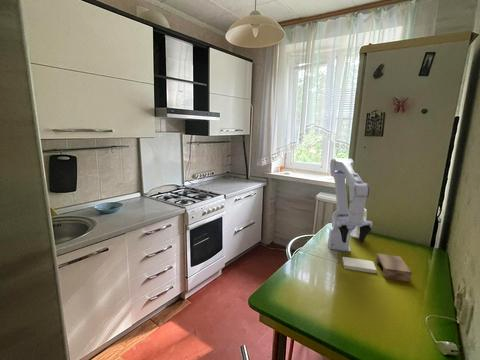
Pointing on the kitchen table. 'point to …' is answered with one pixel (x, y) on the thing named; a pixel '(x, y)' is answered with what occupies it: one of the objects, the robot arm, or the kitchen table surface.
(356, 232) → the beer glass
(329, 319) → the kitchen table surface
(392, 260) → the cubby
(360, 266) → the tile
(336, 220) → the robot arm
